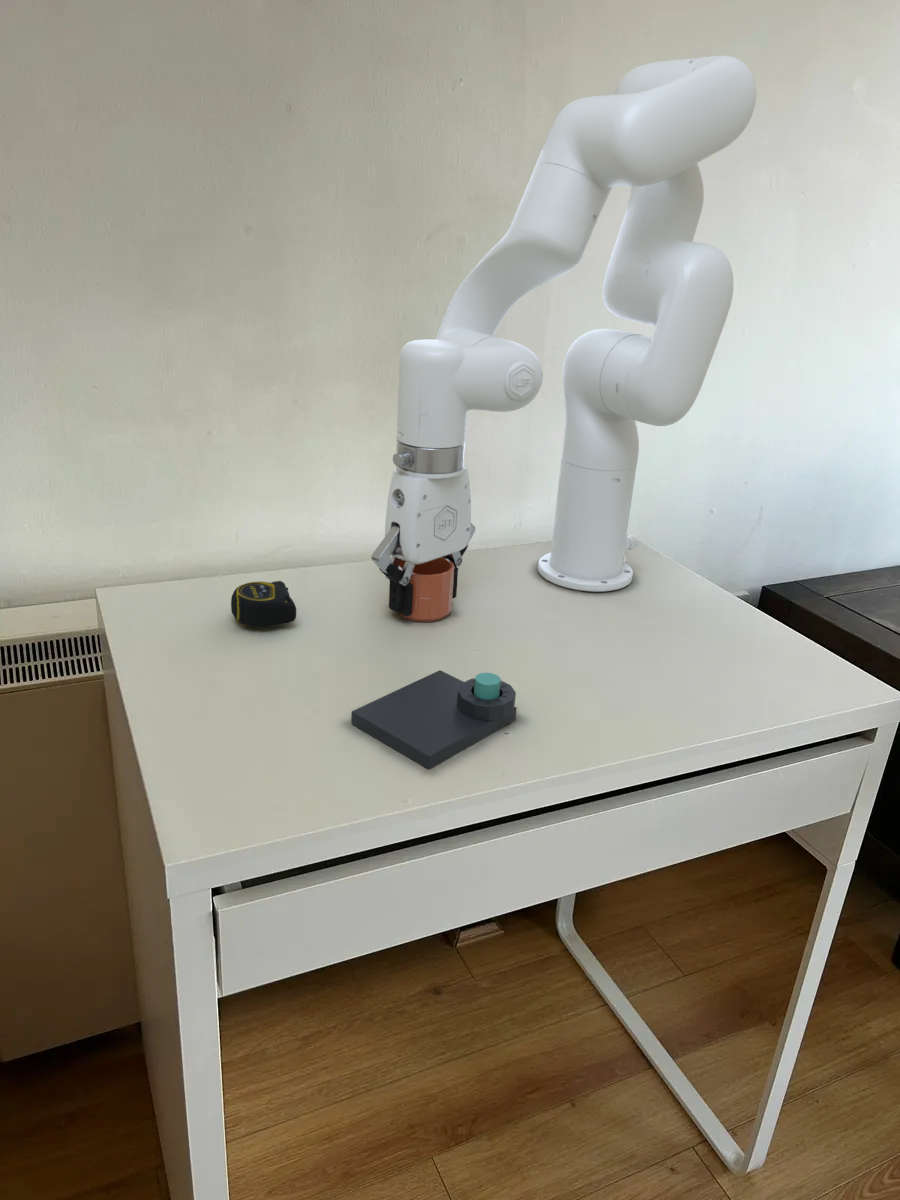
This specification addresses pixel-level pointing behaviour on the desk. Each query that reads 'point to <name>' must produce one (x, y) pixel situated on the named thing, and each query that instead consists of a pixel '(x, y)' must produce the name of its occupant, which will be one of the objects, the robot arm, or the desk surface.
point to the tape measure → (263, 604)
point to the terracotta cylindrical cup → (431, 590)
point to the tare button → (487, 686)
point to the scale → (435, 717)
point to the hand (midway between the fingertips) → (423, 602)
